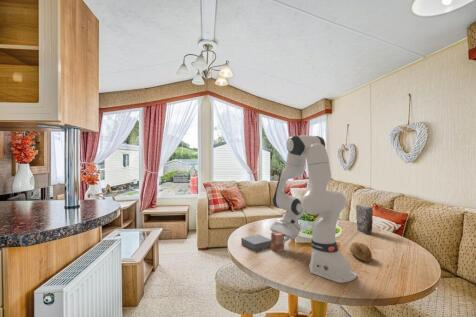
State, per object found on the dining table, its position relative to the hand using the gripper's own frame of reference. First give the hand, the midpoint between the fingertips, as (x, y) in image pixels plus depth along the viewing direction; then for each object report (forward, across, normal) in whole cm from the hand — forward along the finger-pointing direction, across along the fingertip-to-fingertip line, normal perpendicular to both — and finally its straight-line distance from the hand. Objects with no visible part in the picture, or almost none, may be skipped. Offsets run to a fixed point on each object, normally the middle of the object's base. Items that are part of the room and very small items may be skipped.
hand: (277, 240), depth 154 cm
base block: (+8, -13, 0) cm, 15 cm away
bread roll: (-18, +34, +26) cm, 47 cm away
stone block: (-53, +8, +61) cm, 81 cm away
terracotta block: (+4, 0, +4) cm, 6 cm away
